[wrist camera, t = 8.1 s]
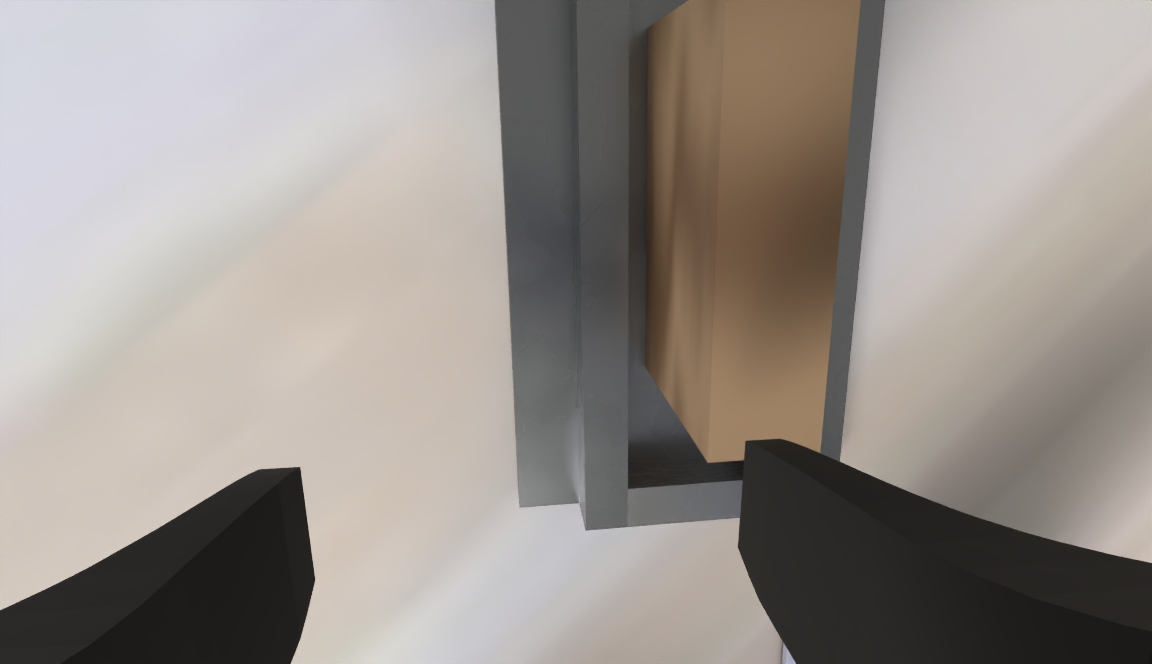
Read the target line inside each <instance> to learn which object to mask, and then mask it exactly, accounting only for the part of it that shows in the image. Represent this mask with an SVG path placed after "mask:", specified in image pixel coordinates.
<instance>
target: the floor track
mask: <svg viewBox="0 0 1152 664" xmlns="http://www.w3.org/2000/svg"><path fill="white" fill-rule="evenodd" d="M687 1H688V0H495V19H496V39H497V60H498V80H499V101H500V122H501V142H502V163H503V183H504V204H505V225H506V245H507V266H508V286H509V307H510V327H511V348H512V369H513V389H514V410H515V430H516V451H517V472H518V492H519V505H520V508H521V507H534V506H546V505H559V504H572V503H579V504H580V508H581V512H582V516H583V521H584V525H585V529H586V530H597V529H609V528H621V527H633V526H645V525H657V524H669V523H681V522H693V521H705V520H717V519H729V518H740V512H741V497H742V483H743V468H744V460H739V461H725V462H712V463H708V462H707V461H706V459H705V458H704V456H703V455H702V453H701V452H700V450H699V448H698V447H697V445H696V444H695V442H694V441H693V439H692V438H691V436H690V435H689V433H688V432H687V430H686V429H685V427H684V426H683V424H682V423H681V421H680V419H679V418H678V416H677V415H676V413H675V412H674V410H673V409H672V407H671V406H670V404H669V403H668V401H667V400H666V398H665V397H664V395H663V393H662V392H661V390H660V389H659V387H658V386H657V384H656V383H655V381H654V380H653V378H652V377H651V375H650V374H649V372H648V371H647V369H646V367H645V316H646V208H647V99H648V27H650V26H651V25H653V24H654V23H656V22H657V21H659V20H660V19H662V18H663V17H665V16H666V15H668V14H669V13H671V12H672V11H673V10H675V9H676V8H678V7H679V6H681V5H682V4H684V3H685V2H687ZM884 7H885V0H861V2H860V13H859V25H858V36H857V47H856V58H855V69H854V81H853V92H852V103H851V114H850V125H849V137H848V148H847V159H846V170H845V181H844V193H843V204H842V215H841V226H840V237H839V249H838V260H837V271H836V282H835V293H834V305H833V316H832V327H831V338H830V349H829V361H828V372H827V383H826V394H825V405H824V417H823V428H822V439H821V450H820V453H821V454H823V455H826V456H828V457H830V458H832V459H835V460H837V461H839V462H840V453H841V442H842V432H843V422H844V412H845V402H846V392H847V382H848V371H849V361H850V351H851V341H852V331H853V321H854V311H855V301H856V290H857V280H858V270H859V260H860V250H861V240H862V230H863V220H864V209H865V199H866V189H867V179H868V169H869V159H870V149H871V138H872V128H873V118H874V108H875V98H876V88H877V78H878V68H879V57H880V47H881V37H882V27H883V17H884Z"/></svg>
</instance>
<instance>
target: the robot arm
mask: <svg viewBox="0 0 1152 664" xmlns="http://www.w3.org/2000/svg"><path fill="white" fill-rule="evenodd" d="M738 549H739V551H740V554H741V556H742V559H743V562H744V564H745V567H746V569H747V572H748V575H749V577H750V579H751V582H752V584H753V587H754V589H755V591H756V594H757V596H758V598H759V600H760V602H761V604H762V606H763V608H764V609H765V611H766V613H767V615H768V616H769V618H770V620H771V622H772V623H773V625H774V627H775V629H776V630H777V632H778V634H779V636H780V637H781V639H782V641H783V655H782V664H1152V563H1148V562H1144V561H1139V560H1134V559H1129V558H1124V557H1119V556H1115V555H1110V554H1106V553H1102V552H1098V551H1094V550H1090V549H1086V548H1082V547H1078V546H1074V545H1069V544H1065V543H1061V542H1057V541H1053V540H1050V539H1046V538H1042V537H1039V536H1035V535H1032V534H1028V533H1025V532H1021V531H1018V530H1015V529H1012V528H1009V527H1006V526H1002V525H999V524H996V523H993V522H990V521H986V520H983V519H980V518H977V517H974V516H971V515H968V514H965V513H963V512H960V511H957V510H954V509H951V508H949V507H946V506H944V505H941V504H939V503H936V502H933V501H931V500H928V499H926V498H923V497H921V496H918V495H915V494H913V493H910V492H908V491H906V490H903V489H901V488H898V487H896V486H894V485H891V484H889V483H887V482H884V481H882V480H880V479H877V478H875V477H873V476H871V475H868V474H866V473H864V472H861V471H859V470H857V469H855V468H852V467H850V466H848V465H846V464H844V463H841V462H839V461H837V460H835V459H832V458H830V457H828V456H826V455H823V454H821V453H819V452H816V451H814V450H812V449H809V448H807V447H804V446H802V445H799V444H796V443H794V442H791V441H787V440H784V439H765V440H748V441H745V453H744V468H743V483H742V497H741V512H740V526H739V541H738ZM314 583H315V576H314V568H313V561H312V553H311V546H310V538H309V530H308V523H307V515H306V508H305V500H304V493H303V485H302V478H301V470H300V467H293V468H276V469H260V470H257V471H255V472H253V473H250V474H248V475H246V476H245V477H243V478H241V479H239V480H237V481H236V482H234V483H232V484H230V485H229V486H227V487H225V488H224V489H222V490H220V491H219V492H217V493H215V494H214V495H212V496H211V497H209V498H207V499H206V500H204V501H202V502H201V503H199V504H197V505H196V506H194V507H193V508H191V509H189V510H188V511H186V512H184V513H183V514H181V515H179V516H178V517H176V518H175V519H173V520H171V521H170V522H168V523H166V524H165V525H163V526H161V527H160V528H158V529H156V530H155V531H153V532H151V533H149V534H148V535H146V536H144V537H142V538H141V539H139V540H137V541H135V542H133V543H132V544H130V545H128V546H126V547H125V548H123V549H121V550H119V551H117V552H116V553H114V554H112V555H110V556H109V557H107V558H105V559H103V560H101V561H100V562H98V563H96V564H94V565H93V566H91V567H89V568H87V569H85V570H83V571H81V572H79V573H77V574H75V575H74V576H72V577H70V578H68V579H66V580H64V581H62V582H60V583H58V584H56V585H54V586H52V587H49V588H47V589H45V590H43V591H41V592H39V593H37V594H35V595H32V596H30V597H28V598H26V599H24V600H22V601H20V602H17V603H15V604H13V605H11V606H9V607H7V608H5V609H2V610H0V664H291V661H292V659H293V656H294V654H295V651H296V649H297V646H298V643H299V641H300V638H301V634H302V631H303V627H304V623H305V619H306V616H307V612H308V608H309V604H310V599H311V595H312V591H313V587H314Z"/></svg>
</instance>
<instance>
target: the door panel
mask: <svg viewBox="0 0 1152 664" xmlns="http://www.w3.org/2000/svg"><path fill="white" fill-rule="evenodd" d="M860 2H861V0H688V1H687V2H685V3H684V4H682V5H681V6H679V7H678V8H676V9H675V10H673V11H672V12H671V13H669V14H668V15H666V16H665V17H663V18H662V19H660V20H659V21H657V22H656V23H654V24H653V25H651V26H650V27H648V99H647V208H646V316H645V367H646V369H647V371H648V372H649V374H650V375H651V377H652V378H653V380H654V381H655V383H656V384H657V386H658V387H659V389H660V390H661V392H662V393H663V395H664V397H665V398H666V400H667V401H668V403H669V404H670V406H671V407H672V409H673V410H674V412H675V413H676V415H677V416H678V418H679V419H680V421H681V423H682V424H683V426H684V427H685V429H686V430H687V432H688V433H689V435H690V436H691V438H692V439H693V441H694V442H695V444H696V445H697V447H698V448H699V450H700V452H701V453H702V455H703V456H704V458H705V459H706V461H707V462H708V463H712V462H725V461H739V460H744V453H745V441H748V440H765V439H784V440H787V441H791V442H794V443H796V444H799V445H802V446H804V447H807V448H809V449H812V450H814V451H816V452H819V453H820V450H821V439H822V428H823V417H824V405H825V394H826V383H827V372H828V361H829V349H830V338H831V327H832V316H833V305H834V293H835V282H836V271H837V260H838V249H839V237H840V226H841V215H842V204H843V193H844V181H845V170H846V159H847V148H848V137H849V125H850V114H851V103H852V92H853V81H854V69H855V58H856V47H857V36H858V25H859V13H860Z"/></svg>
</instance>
